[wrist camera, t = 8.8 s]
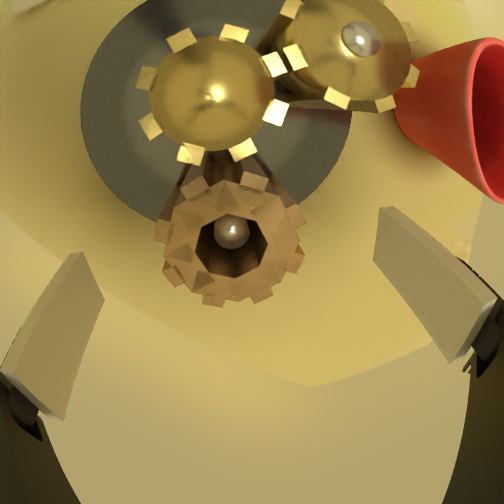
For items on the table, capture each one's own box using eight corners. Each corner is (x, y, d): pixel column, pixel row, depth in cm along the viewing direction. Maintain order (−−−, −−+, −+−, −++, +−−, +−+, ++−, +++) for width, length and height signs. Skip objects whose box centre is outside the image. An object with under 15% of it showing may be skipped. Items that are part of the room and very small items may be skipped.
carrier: (56, 77, 12) (-14, 75, 6) (294, -41, 10) (331, -92, 3) (169, 262, 21) (152, 333, 14) (389, 156, 19) (457, 186, 12)
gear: (153, 186, 17) (125, 222, 11) (251, 131, 16) (268, 141, 10) (207, 267, 20) (206, 324, 15) (296, 224, 19) (325, 270, 14)
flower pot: (409, 187, 20) (489, 238, 12) (349, 73, 15) (442, 63, 7) (472, 133, 18) (547, 162, 9) (429, 32, 13) (513, 25, 4)
